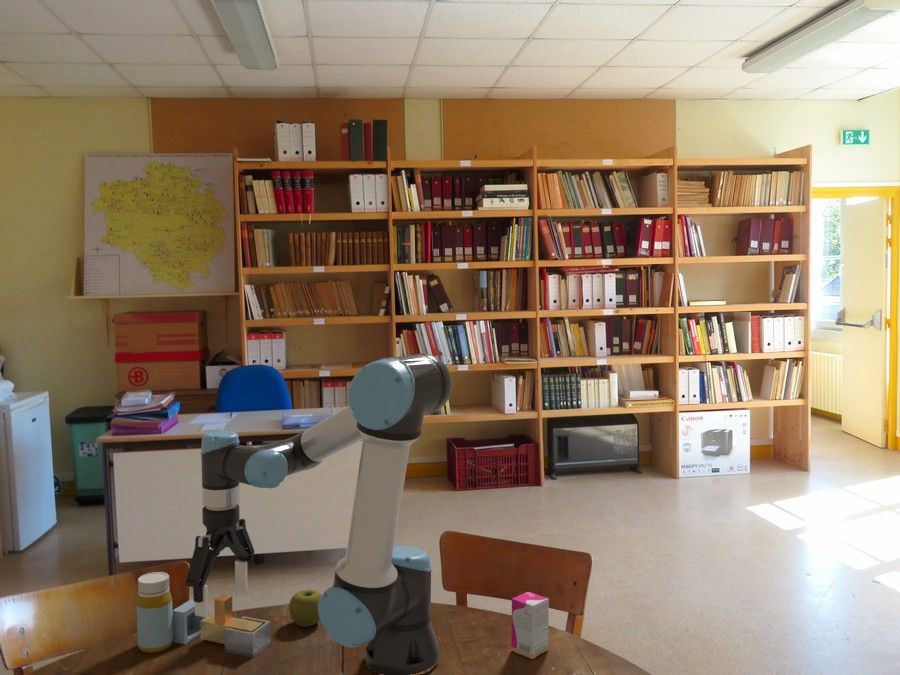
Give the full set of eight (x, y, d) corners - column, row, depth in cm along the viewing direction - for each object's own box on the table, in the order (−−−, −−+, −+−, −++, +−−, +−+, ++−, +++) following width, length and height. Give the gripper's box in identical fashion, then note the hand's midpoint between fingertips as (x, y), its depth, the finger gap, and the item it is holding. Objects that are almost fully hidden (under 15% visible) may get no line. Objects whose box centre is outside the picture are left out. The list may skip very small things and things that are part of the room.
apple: (322, 631, 173) (321, 600, 173) (285, 631, 173) (285, 600, 173) (327, 616, 181) (327, 586, 180) (293, 616, 181) (292, 586, 180)
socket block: (205, 630, 174) (205, 599, 173) (184, 644, 167) (183, 612, 167) (194, 628, 175) (193, 597, 174) (173, 641, 168) (172, 610, 168)
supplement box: (549, 650, 165) (549, 597, 164) (532, 660, 161) (532, 606, 160) (527, 641, 169) (527, 590, 168) (509, 651, 164) (510, 598, 163)
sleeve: (270, 644, 168) (270, 621, 167) (253, 657, 162) (252, 634, 161) (243, 638, 170) (242, 616, 170) (224, 651, 164) (224, 628, 164)
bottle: (161, 655, 162) (159, 585, 161) (131, 652, 164) (128, 582, 163) (179, 640, 169) (177, 572, 168) (150, 637, 171) (148, 570, 169)
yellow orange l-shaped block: (263, 641, 167) (262, 600, 166) (252, 649, 163) (251, 607, 162) (212, 631, 171) (211, 591, 170) (200, 639, 168) (199, 598, 167)
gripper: (241, 487, 178) (242, 577, 180) (165, 520, 155) (167, 624, 157) (269, 491, 176) (270, 583, 178) (196, 525, 152) (198, 630, 154)
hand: (222, 602), depth 167 cm, fingers open, 13 cm apart
